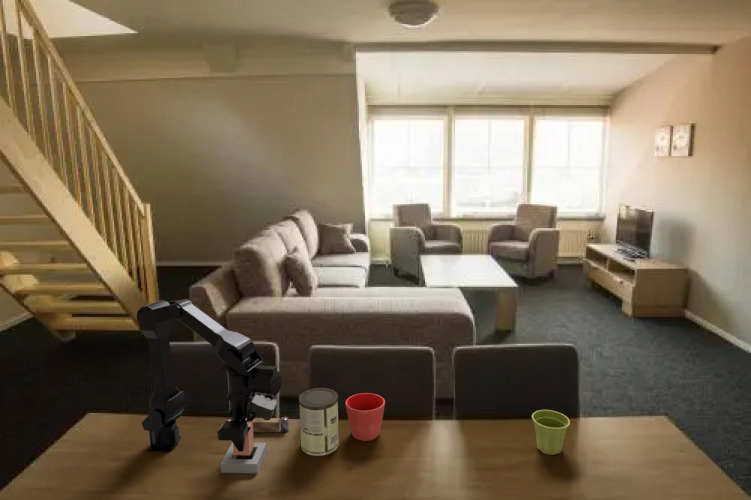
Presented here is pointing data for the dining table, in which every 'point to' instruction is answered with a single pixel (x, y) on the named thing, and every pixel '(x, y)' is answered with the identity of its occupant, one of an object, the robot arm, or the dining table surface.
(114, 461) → the dining table surface
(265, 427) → the leg bar
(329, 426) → the coffee can
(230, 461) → the socket
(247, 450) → the leg peg
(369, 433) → the flower pot
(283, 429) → the pivot pin
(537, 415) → the plant pot
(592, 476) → the dining table surface
